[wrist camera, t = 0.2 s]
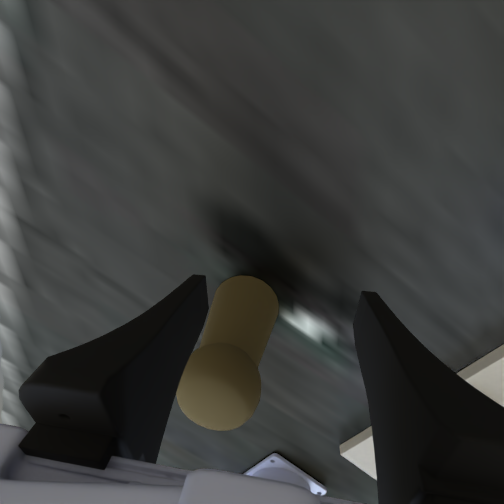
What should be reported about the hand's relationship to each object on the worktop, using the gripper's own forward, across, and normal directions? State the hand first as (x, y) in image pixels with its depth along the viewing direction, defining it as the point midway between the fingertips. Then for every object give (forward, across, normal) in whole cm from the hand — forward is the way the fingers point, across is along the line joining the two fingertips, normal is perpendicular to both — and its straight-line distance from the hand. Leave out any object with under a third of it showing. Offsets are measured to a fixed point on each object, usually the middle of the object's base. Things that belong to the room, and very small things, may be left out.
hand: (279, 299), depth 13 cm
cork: (+9, +3, +9) cm, 13 cm away
